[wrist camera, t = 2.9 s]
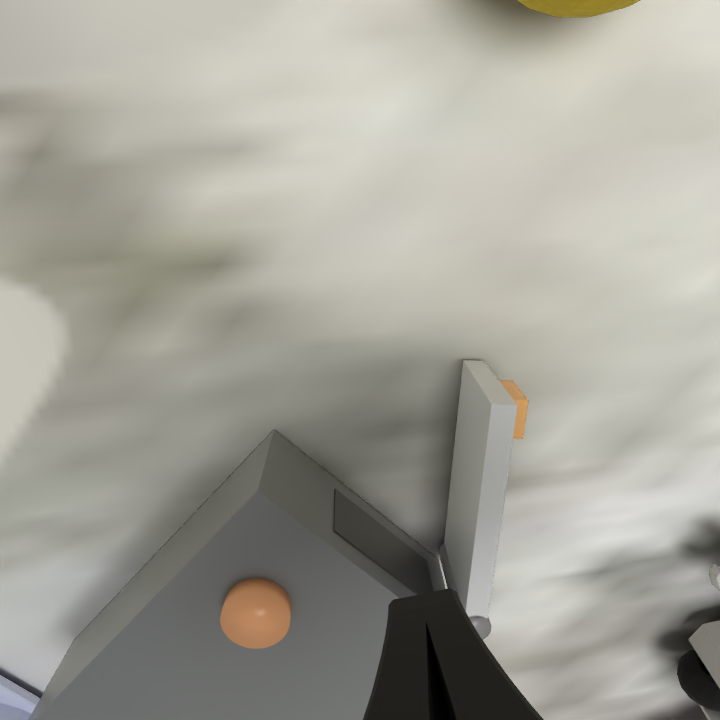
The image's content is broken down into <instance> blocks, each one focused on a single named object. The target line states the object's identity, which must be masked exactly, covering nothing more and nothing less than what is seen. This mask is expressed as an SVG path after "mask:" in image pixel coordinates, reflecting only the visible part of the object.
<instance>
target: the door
mask: <svg viewBox="0 0 720 720" xmlns="http://www.w3.org/2000/svg"><path fill="white" fill-rule="evenodd" d="M527 407H528V399H527V398H526V396H525V395H524V394H523V393H522V392H521V390H520V389H519V388H518V387H517V385H516V384H515V383H514V382H513V381H505V380H498V378H497V377H496V376H495V374H494V373H493V372H492V370H491V369H490V368H489V366H488V365H487V364H486V362H485V361H473V360H463V368H462V378H461V387H460V396H459V406H458V415H457V425H456V434H455V444H454V453H453V462H452V472H451V481H450V491H449V500H448V509H447V519H446V528H445V538H444V543H443V544H442V545H441V546H440V549H439V555H440V559H441V563H442V567H443V571H444V575H445V579H446V583H447V587H448V589H449V588H451V589H453V590H454V591H456V592H457V594H458V596H459V599H460V601H461V603H462V605H463V608H464V609H465V611H466V613H467V615H468V617H469V619H470V620H471V622H472V624H473V626H474V627H475V629H476V630H477V632H478V634H479V635H480V637H481V639H482V640H483V639H485V638H486V637H487V636H488V635H489V633H490V631H491V624H490V621H489V618H488V613H489V606H490V599H491V591H492V584H493V577H494V570H495V563H496V556H497V549H498V542H499V535H500V527H501V520H502V513H503V506H504V499H505V492H506V485H507V478H508V470H509V463H510V456H511V449H512V442H513V438H516V439H523V434H524V428H525V421H526V414H527Z"/></svg>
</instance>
